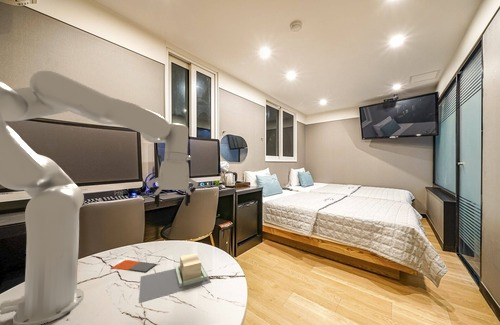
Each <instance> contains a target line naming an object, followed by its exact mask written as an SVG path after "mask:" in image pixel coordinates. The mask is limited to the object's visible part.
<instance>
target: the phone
mask: <svg viewBox="0 0 500 325" xmlns="http://www.w3.org/2000/svg"><path fill="white" fill-rule="evenodd" d="M156 266H158V264H157V263H152V262H145V261H137V260H127V259H124V260H123V261H121V262H118V263H117V264H116V265H114V266H112V267H111V268H110V270H114V269H115V270H121V271H122V270H123V271H128V272H129V271H130V272H134V273H135V272H136V273H142V274H148V272H150V271H151V270H152V269H154V268H155V267H156Z"/></svg>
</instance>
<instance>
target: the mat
mask: <svg viewBox="0 0 500 325" xmlns="http://www.w3.org/2000/svg"><path fill="white" fill-rule="evenodd" d="M139 282H140V283H139V295H138V296H139V298H138V304H141V303H144V302H147V301H148V302H149V301H152V300H155V299H158V298H162V297H165V296H168V295H169V296H170V295H172V294H175V293H176V294H177V293H180V292H183V291H186V290H189V289H193V288H196V287H201V286H204V285H207V284H211V283H212V281H211V279H210V278H209V276H208V274H207V272H206V270H205V268H204V266H203V265H202V264H201V277H197V278H193V279H190V280H186V281H183V279H182V276H181V273H180V264H179V265H175V266H174V268H172V269H168V270H164V271H163V270H162V271H159V272H155V273H150V274H147V275H142V276H140V281H139Z"/></svg>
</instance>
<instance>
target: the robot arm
mask: <svg viewBox="0 0 500 325" xmlns="http://www.w3.org/2000/svg"><path fill="white" fill-rule="evenodd" d="M66 112H70V113H72V114H75V115H78V116H81V117H83V118H86V119H88V120H91V121H93V122H95V123H99V124H102V125H116V126H120V127H124V128H126V129H130V130H133V131H135V132H138V133H140V134H141V137H142V138H143V139H144V140H145V141H146V142H149V143H152V144H153V143H156V144H158V143H159V144H160V143H164V144H165V147H164V156H163V157H164V159H163V160H162V161H161V162H160V163H161V164H160V167H159V174H158V177H156V178H153V179H150V180H148V181H146V185H147V187H148V189H149V191H150V192H151V193H152V194H153V195H154V201H153V202H154V205H156V206H155V207H156V208H159V206H160V193H161V192H162V190H165V191H167V190H168V191H169V190H171V191H173V190H174V191H179V190H181V191H182V190H183V191H185V197H184V205H185V206H186V207H188V206H189V204H190V203H191V195H192V194H193V192H195V191H196V189H197V188H198V186H199V182H197V181H196V180H194V179H193V178H190V167H189V163H188V162H187V161H191V160H192V158H191V156H190V155H188V144H189V127H188V126H187V125H185V124H182V123H174V122H173V123H169V122H168V121H167V119H166V118H164V116H161V115H160V114H158V113H156V112H153V110H149V109H148V108H145V107H143V106H141V105H139V104H136V103H132V102H129V101H125V100H122V99H119V98H115V97H112V96H109V95H107V94H105V93H103V92H100V91H99V90H96V89H93V88H92V87H89V86H87V85H85V84H83V83H81V82H79V81H76V80H74V79H73V78H70V77H68V76H65V75H63V74H61V73H58V72H56V71H52V70H39V71H37V72H34V73H33V74H32V75H31V77H30V79H29V86H28V87H20V88H19V87H18V88H11V87H10V86H8V85H7V84H6V83H4V82H3V81H1V80H0V185H1V186H2V187H4V188H7V189H8V190H13V191H25V193H27V195H29V197H31V198H30V200H29V201H28V202H27V205H26V207H25V212H24V220H25V228H26V229H25V230H26V231H25V232H26V249H25V254H26V256H25V276H24V294H23V295H21V297H19V298H12V299H8V300H7V299H6V300H3V301H2V302H1V303H0V315H5V314H6V315H7V314H10V313H13V312H15V313H14V315H13V318H12V325H41V324H42V325H45V324H47V322H48V323H50V322H52V321H54V320H58V319H60V318H62V317H63V316H65V315H66V314H69V313H70V312H72V310H74V309H75V308H76V307H78V306H79V305H80V304H81V303H82V301H83V300H84V297H85V296H84V295H85V292H84V291H83V290H82V289H81V288H80V289H79V288H78V267H79V266H78V265H79V248H80V247H79V243H80V242H79V240H80V208H82V207H83V204H84V200H85V196H84V192H83V191H82V190H81V188H80V187H79V186H78V185H77V184H76V183H75V182H74V181H73V179H72V178H71V177H70V176H69V175H68V174H67V173H66V172H65V171H64V170H63V169H62V167H60V166H59V165H58V164H57V163H56V162H55V161H54V160H53V159H51V158H50V157H48V156H45V155H42V154H39V153H36V152H35V150H33V149H32V148H31V146H29V145H28V144H27V142H25V140H23V139H22V138H21V137H20V135H19V134H18V133H17V132H16V131H15V130H14V129H13V128H12V127H11V126H10V125H9V124H8V123H7V122H19V121H27V120H32V119H37V118H43V117H49V116H53V115H58V114H64V113H66ZM154 183H157V186H158V187H157V189H156V188H155V187H154V186H153V184H154ZM190 183H191V184H193V185H192V187H191V188H190V189H189V187H190ZM44 323H45V324H44Z"/></svg>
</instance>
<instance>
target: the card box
mask: <svg viewBox="0 0 500 325" xmlns="http://www.w3.org/2000/svg"><path fill="white" fill-rule="evenodd" d="M179 265H180V273H181V276H182V279H183V281H186V280H190V279H193V278H197V277H201V265H202V261H201V260H200V258H199V256H198V254H197V253H196V252H195V253H190V254H184V255H180V257H179Z"/></svg>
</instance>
